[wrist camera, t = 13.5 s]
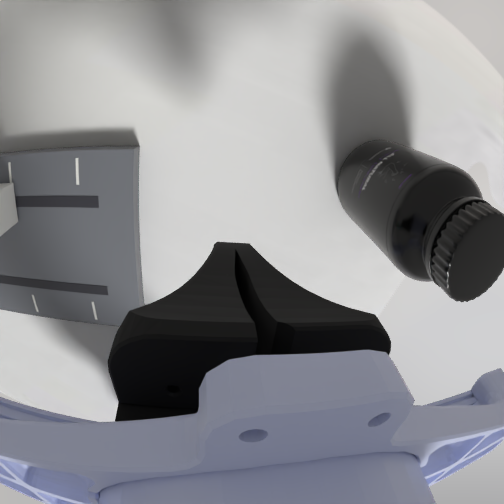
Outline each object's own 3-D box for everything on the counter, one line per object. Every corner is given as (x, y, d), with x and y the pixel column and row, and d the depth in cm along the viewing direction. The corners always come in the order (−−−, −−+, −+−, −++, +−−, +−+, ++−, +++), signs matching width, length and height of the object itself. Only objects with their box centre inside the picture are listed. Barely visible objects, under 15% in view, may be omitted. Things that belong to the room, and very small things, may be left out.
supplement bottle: (339, 132, 20) (456, 176, 9) (417, 145, 20) (537, 195, 10) (328, 223, 23) (410, 328, 12) (402, 226, 24) (497, 310, 13)
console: (145, 316, 25) (142, 328, 23) (-25, 294, 22) (-32, 302, 20) (139, 146, 19) (133, 149, 17) (-54, 161, 16) (-64, 166, 14)
